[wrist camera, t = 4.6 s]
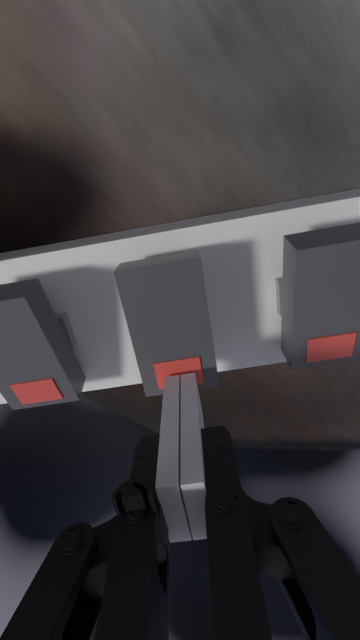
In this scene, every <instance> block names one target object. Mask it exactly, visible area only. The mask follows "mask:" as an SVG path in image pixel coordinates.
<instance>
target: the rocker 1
mask: <svg viewBox="0 0 360 640" xmlns="http://www.w3.org/2000/svg"><path fill="white" fill-rule="evenodd" d="M85 379H86V377H85V375H84V372H83V370H82V368H81V366H80V364H79V362H78V360H77V358H76V356H75V354H74V352H73V350H72V348H71V346H70V344H69V342H68V339H67V337H66V335H65V333H64V331H63V329H62V327H61V325H60V323H59V321H58V319H57V317H56V315H55V313H54V311H53V308H52V306H51V304H50V302H49V300H48V298H47V296H46V294H45V292H44V290H43V288H42V286H41V284H40V282H39V280H38V278H36V279H30V280H24V281H18V282H13V283H7V284H1V285H0V393H1V394H2V396H3V397H4V399H5V400H6V401H7V403H8V404H9V405H10V407H11V408H12V409H13V410H16V409H23V408H30V407H37V406H44V405H50V404H56V403H64V402H70V401H78V400H80V396H81V393H82V389H83V386H84V382H85Z"/></svg>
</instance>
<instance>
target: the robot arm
mask: <svg viewBox="0 0 360 640" xmlns="http://www.w3.org/2000/svg"><path fill="white" fill-rule="evenodd" d="M111 499H112V502H113V505H114V508H115V511H116V514H117V515H116V516H115V517H114V518H112V519H111V520H109V521H107V522H105V523H103V524H101V525H99V526H96V527H94V528H92V527H91V526H90V525H89V524H86V523H84V522H82V523H75V524H73V525H70V526H68V527H67V528H66V529H65V530H63V531H62V532H61V533H60V535H59V536H58V537H57V539H56V540H55V542H54V544H53V545H52V547H51V549H50V551H49V553H48V554H47V556H46V558H45V560H44V561H43V563H42V565H41V567H40V568H39V570H38V572H37V574H36V575H35V577H34V579H33V581H32V582H31V585H30V586H29V588H28V590H27V591H26V593H25V595H24V597H23V599H22V600H21V602H20V604H19V606H18V607H17V609H16V611H15V613H14V614H13V616H12V618H11V620H10V621H9V623H8V625H7V627H6V629H5V630H4V632H3V634H2V636H1V637H0V640H169V597H170V555H169V551H168V536H169V539H170V542H180V541H189V540H191V532H192V536H193V540H198V539H207V547H208V548H207V549H208V564H209V577H210V593H211V607H212V622H213V637H214V640H272V637H271V631H270V627H269V622H268V616H267V611H266V606H265V601H264V596H263V591H262V586H261V581H260V577H259V573H262V574H265V575H269V576H273V577H276V578H278V580H279V583H280V585H281V587H282V589H283V591H284V593H285V595H286V598H287V600H288V602H289V604H290V606H291V608H292V611H293V613H294V614H295V617H296V619H297V621H298V623H299V625H300V627H301V630H302V632H303V634H304V636H305V638H306V640H360V579H359V578H358V576H357V575H356V573H355V572H354V570H353V569H352V568H351V566H350V564H349V563H348V562H347V560H346V559H345V557H344V556H343V554H342V553H341V551H340V550H339V548H338V547H337V546H336V544H335V543H334V541H333V540H332V538H331V537H330V535H329V534H328V532H327V531H326V530H325V528H324V527H323V525H322V524H321V522H320V521H319V519H318V518H317V516H316V515H315V514H314V512H313V511H312V509H311V508H310V507H309V506H308V505H307V504H306V503H304V502H303V501H301V500H299V499H297V498H291V497H286V498H280V499H279V500H277V501H275V502H274V504H273V505H270V504H265V503H261V502H258V501H255V500H253V499H251V498H250V497H249V496H247V495H246V494H245V492H244V491H243V489H242V487H241V484H240V480H239V475H238V470H237V466H236V460H235V456H234V450H233V446H232V440H231V435H230V433H229V432H228V430H227V429H226V428H225V427H224V426H217V427H210V428H204V424H203V414H202V409H201V403H200V397H199V392H198V386H197V381H196V375H195V373H189V374H182V375H181V381H180V376H179V375H175V376H168V377H165V381H164V392H163V404H162V415H161V427H160V435H157V436H149V437H142V438H141V439H140V441H139V443H138V444H137V446H136V448H135V453H134V459H133V465H132V471H131V476H130V480H129V481H126V482H124V483H123V484H121V485H120V486H119V487H118V488H117V489H116V490H115V491H114V493H113V496H112V498H111Z"/></svg>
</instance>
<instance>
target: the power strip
mask: <svg viewBox="0 0 360 640" xmlns="http://www.w3.org/2000/svg"><path fill="white" fill-rule="evenodd" d="M358 222H360V188H359V189H353V190H348V191H342V192H337V193H331V194H326V195H320V196H314V197H309V198H303V199H298V200H292V201H287V202H281V203H276V204H270V205H265V206H259V207H254V208H248V209H242V210H237V211H231V212H226V213H220V214H215V215H209V216H204V217H198V218H193V219H187V220H181V221H176V222H170V223H165V224H159V225H154V226H148V227H143V228H137V229H132V230H126V231H121V232H115V233H109V234H104V235H98V236H93V237H87V238H82V239H76V240H71V241H65V242H60V243H54V244H48V245H43V246H37V247H32V248H26V249H21V250H15V251H10V252H4V253H0V285H1V284H7V283H13V282H18V281H24V280H30V279H36V278H38V280H39V282H40V284H41V286H42V288H43V290H44V292H45V294H46V296H47V298H48V300H49V302H50V304H51V306H52V308H53V311H54V313H55V315H56V317H57V319H58V321H59V323H60V325H61V327H62V329H63V331H64V333H65V335H66V337H67V339H68V342H69V344H70V346H71V348H72V350H73V352H74V354H75V356H76V358H77V360H78V362H79V364H80V366H81V368H82V370H83V372H84V375H85V377H86V379H85V382H84V386H83V389H82V392H85V391H92V390H99V389H105V388H112V387H119V386H126V385H132V384H139V383H142V379H141V375H140V372H139V368H138V364H137V360H136V356H135V353H134V349H133V345H132V341H131V337H130V334H129V330H128V326H127V322H126V318H125V315H124V311H123V307H122V303H121V299H120V296H119V292H118V288H117V284H116V280H115V277H114V273H113V272H114V271H115V269H116V268H117V267H118V265H119V264H120V263H124V262H129V261H135V260H141V259H147V258H152V257H158V256H164V255H170V254H175V253H181V252H187V251H193V250H199V254H200V257H201V263H202V270H203V277H204V284H205V290H206V297H207V304H208V311H209V318H210V325H211V331H212V338H213V345H214V352H215V359H216V365H217V372H220V371H227V370H234V369H240V368H247V367H254V366H261V365H267V364H274V363H281V362H287V360H286V358H285V356H284V354H283V352H282V350H281V317H282V277H283V238H284V235H289V234H295V233H301V232H306V231H312V230H318V229H324V228H329V227H335V226H341V225H347V224H352V223H358ZM4 403H7V401H6V400H5V399H4V397H3V396H2V394H1V393H0V404H4Z"/></svg>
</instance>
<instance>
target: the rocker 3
mask: <svg viewBox="0 0 360 640" xmlns="http://www.w3.org/2000/svg"><path fill="white" fill-rule="evenodd" d="M281 350H282V352H283V354H284V356H285V358H286V360H287V363H288V365H289V367H290V369H296V368H303V367H310V366H317V365H324V364H330V363H337V362H344V361H351V360H358V359H360V222H358V223H352V224H347V225H341V226H335V227H329V228H324V229H318V230H312V231H306V232H301V233H295V234H289V235H284V238H283V277H282V317H281Z"/></svg>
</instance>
